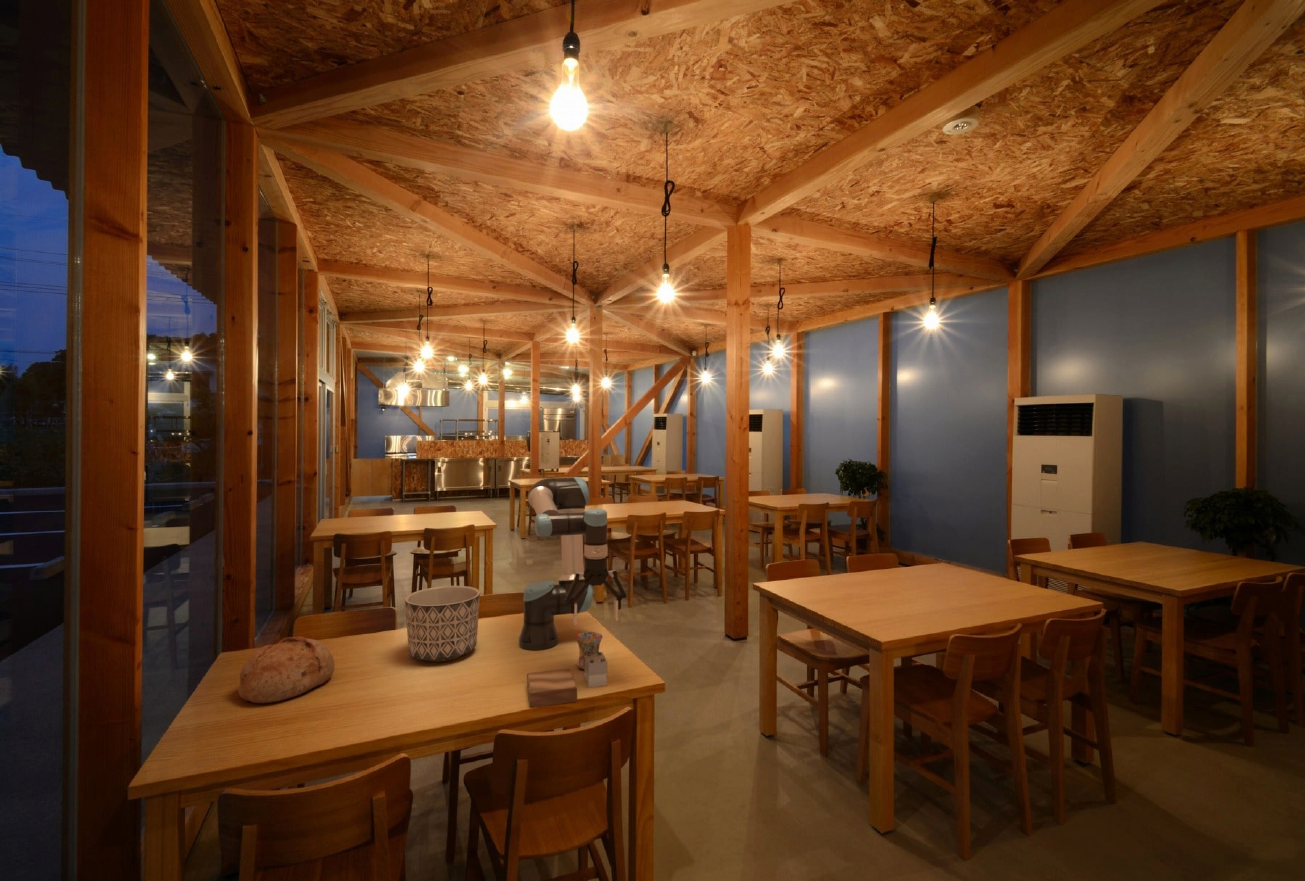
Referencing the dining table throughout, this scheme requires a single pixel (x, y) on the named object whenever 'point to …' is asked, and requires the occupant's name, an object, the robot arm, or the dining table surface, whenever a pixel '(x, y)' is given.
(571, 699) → the stand
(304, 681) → the bread
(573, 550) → the robot arm
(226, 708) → the dining table surface
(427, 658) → the planter
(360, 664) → the dining table surface
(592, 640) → the mug
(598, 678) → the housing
